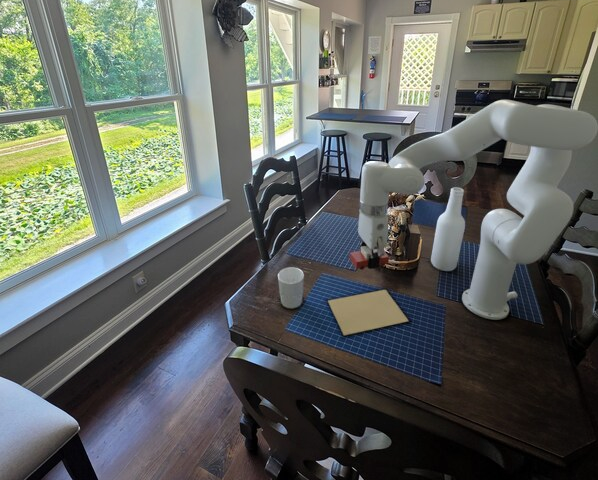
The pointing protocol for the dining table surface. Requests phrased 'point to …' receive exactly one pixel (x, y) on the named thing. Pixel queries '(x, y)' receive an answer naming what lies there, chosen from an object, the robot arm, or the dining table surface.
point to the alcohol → (449, 233)
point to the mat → (366, 312)
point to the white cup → (291, 287)
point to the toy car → (365, 258)
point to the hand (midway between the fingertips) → (369, 261)
